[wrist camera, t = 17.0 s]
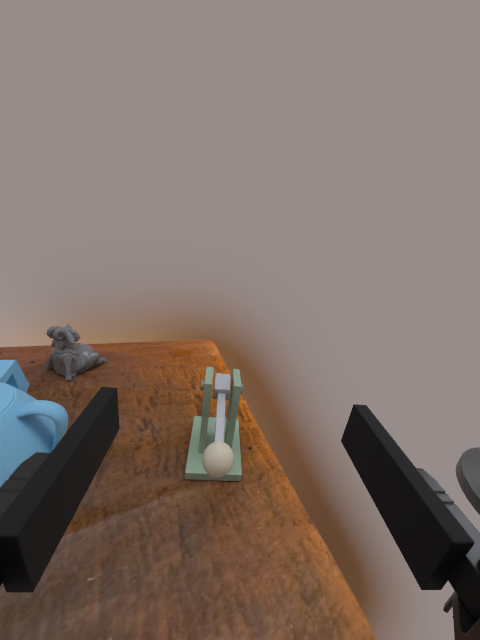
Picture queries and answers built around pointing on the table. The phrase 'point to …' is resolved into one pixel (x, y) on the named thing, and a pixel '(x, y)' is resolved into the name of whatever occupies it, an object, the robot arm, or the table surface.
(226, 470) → the knob lever
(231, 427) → the green lever stand
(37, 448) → the teapot
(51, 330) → the figurine
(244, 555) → the table surface
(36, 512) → the robot arm
